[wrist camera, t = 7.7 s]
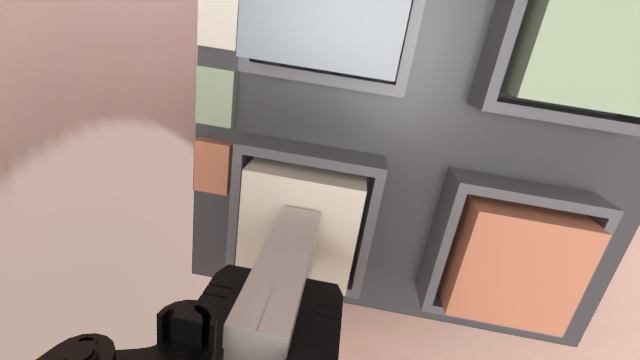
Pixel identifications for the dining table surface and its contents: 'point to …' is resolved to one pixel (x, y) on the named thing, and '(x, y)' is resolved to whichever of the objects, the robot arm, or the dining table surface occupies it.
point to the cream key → (304, 193)
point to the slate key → (325, 34)
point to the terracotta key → (520, 264)
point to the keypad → (411, 150)
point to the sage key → (578, 55)
